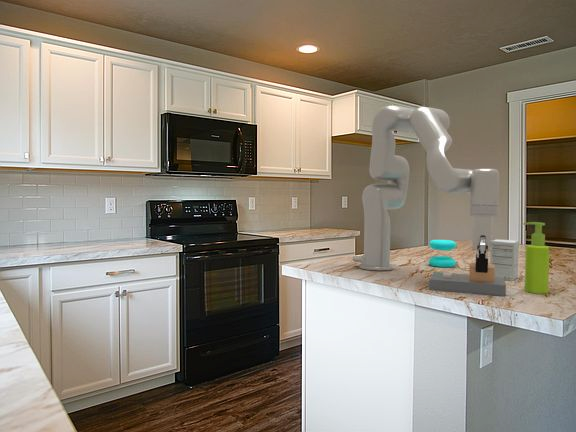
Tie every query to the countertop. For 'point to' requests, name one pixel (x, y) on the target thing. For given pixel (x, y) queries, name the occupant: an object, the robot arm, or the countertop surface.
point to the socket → (466, 284)
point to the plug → (482, 274)
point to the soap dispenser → (537, 262)
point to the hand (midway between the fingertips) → (481, 269)
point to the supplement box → (505, 258)
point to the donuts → (442, 260)
